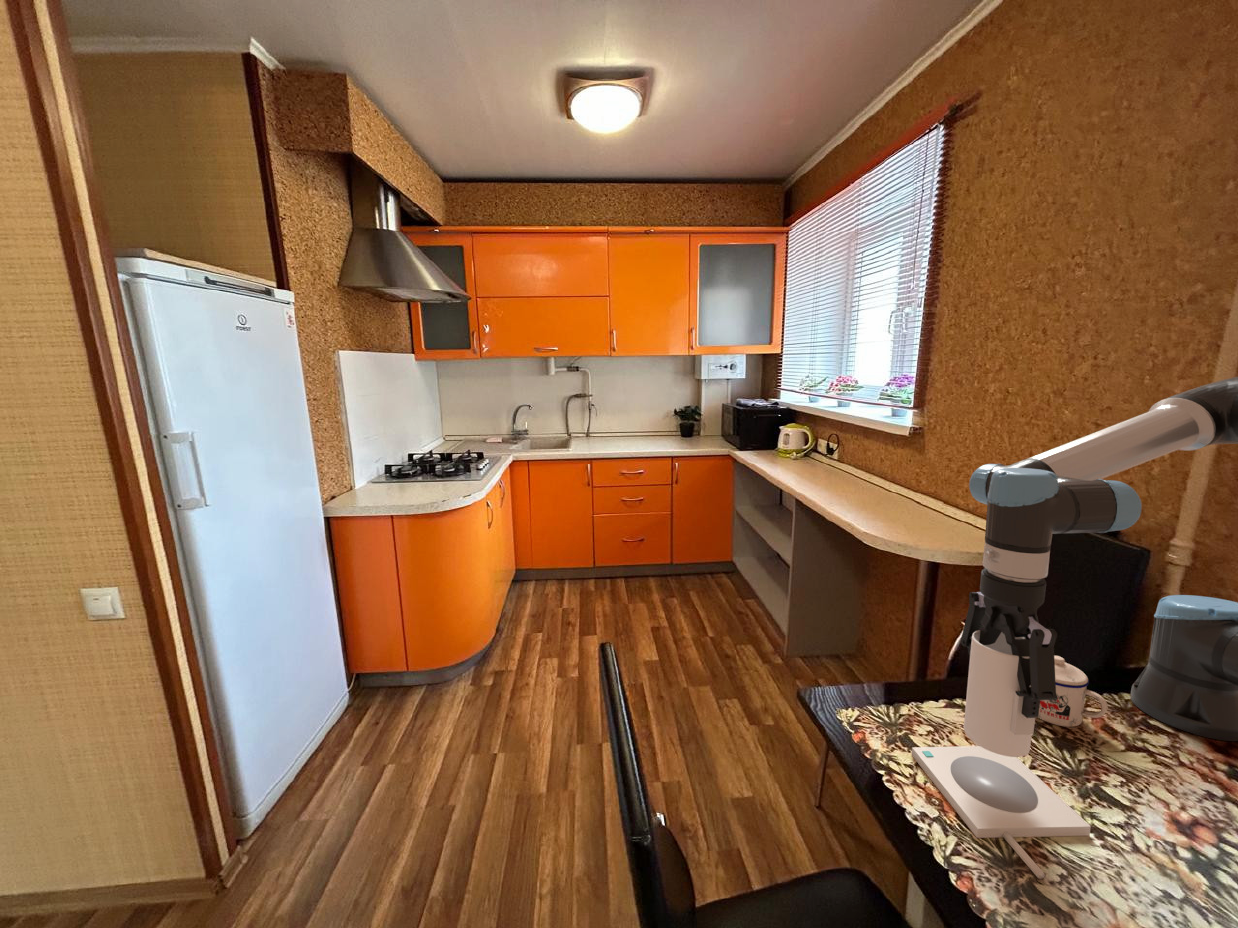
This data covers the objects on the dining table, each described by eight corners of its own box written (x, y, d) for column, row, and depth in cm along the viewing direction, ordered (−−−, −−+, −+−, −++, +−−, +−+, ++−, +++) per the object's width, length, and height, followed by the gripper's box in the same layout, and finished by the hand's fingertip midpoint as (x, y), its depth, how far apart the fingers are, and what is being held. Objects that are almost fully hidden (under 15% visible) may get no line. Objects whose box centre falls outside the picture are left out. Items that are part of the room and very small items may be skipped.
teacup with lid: (1013, 708, 97) (1019, 654, 95) (1032, 692, 102) (1037, 640, 100) (1095, 744, 87) (1103, 684, 85) (1111, 725, 92) (1119, 667, 90)
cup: (1042, 760, 72) (1054, 659, 69) (979, 753, 73) (989, 654, 71) (1010, 723, 80) (1020, 631, 77) (954, 717, 81) (962, 627, 79)
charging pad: (1003, 752, 86) (1004, 744, 86) (1132, 876, 64) (1134, 865, 64) (911, 754, 86) (912, 746, 86) (1009, 879, 64) (1010, 868, 64)
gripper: (941, 550, 83) (931, 674, 86) (1048, 604, 62) (1030, 764, 66) (986, 549, 83) (974, 673, 86) (1108, 603, 62) (1086, 763, 65)
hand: (998, 712), depth 76 cm, fingers closed on cup, 8 cm apart
